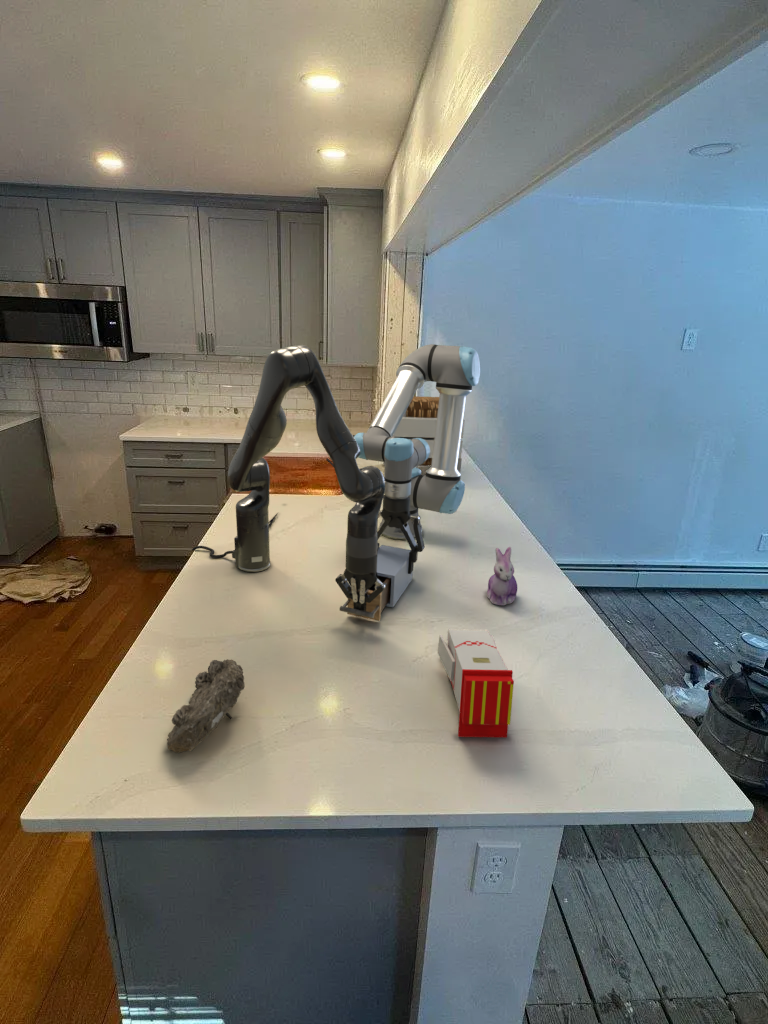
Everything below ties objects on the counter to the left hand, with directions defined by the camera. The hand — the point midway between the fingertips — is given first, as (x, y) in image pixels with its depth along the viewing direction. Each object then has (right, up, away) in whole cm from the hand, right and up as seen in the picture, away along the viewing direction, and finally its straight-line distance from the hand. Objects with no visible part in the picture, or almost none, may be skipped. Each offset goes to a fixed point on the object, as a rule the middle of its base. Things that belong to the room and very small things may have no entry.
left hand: (359, 614), depth 140 cm
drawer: (+3, 0, +9) cm, 9 cm away
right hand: (+9, +9, +23) cm, 27 cm away
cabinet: (+7, +3, +20) cm, 21 cm away
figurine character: (-9, +59, +172) cm, 182 cm away
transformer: (+23, +44, +135) cm, 144 cm away
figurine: (+39, +1, +18) cm, 43 cm away
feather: (-34, +23, +71) cm, 82 cm away
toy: (+24, -12, -21) cm, 34 cm away
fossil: (-27, -14, -32) cm, 44 cm away
